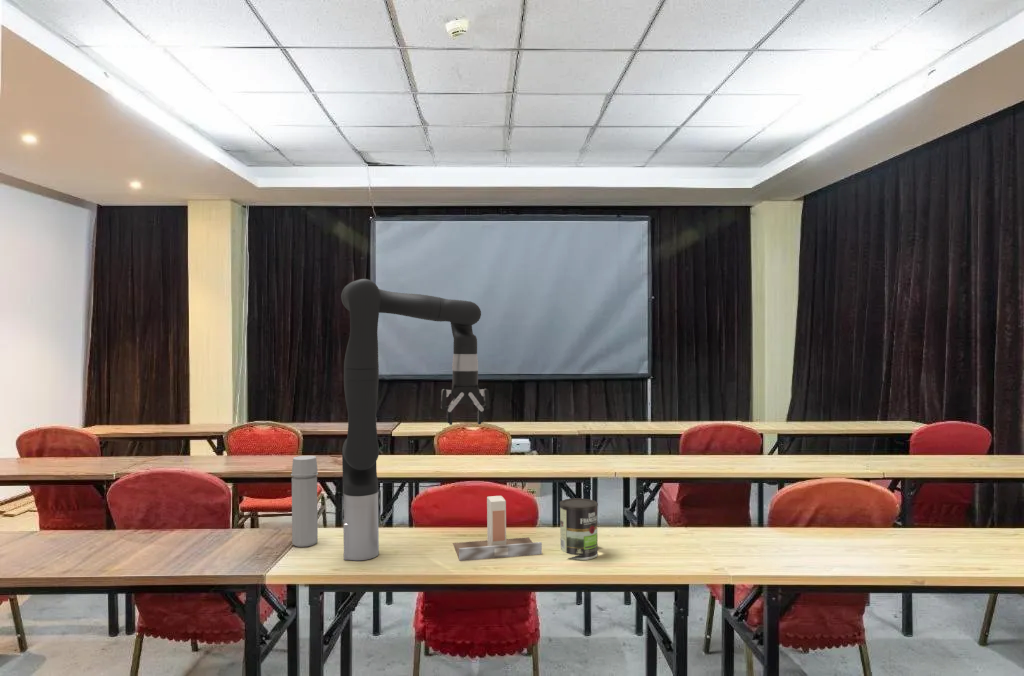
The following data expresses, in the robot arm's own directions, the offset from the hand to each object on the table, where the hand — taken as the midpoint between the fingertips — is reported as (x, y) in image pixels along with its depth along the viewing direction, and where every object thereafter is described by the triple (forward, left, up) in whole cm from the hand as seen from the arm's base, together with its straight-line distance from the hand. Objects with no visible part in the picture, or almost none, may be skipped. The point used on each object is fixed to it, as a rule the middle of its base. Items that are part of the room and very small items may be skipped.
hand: (465, 424), depth 193 cm
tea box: (+6, -17, -32) cm, 37 cm away
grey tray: (+6, -16, -34) cm, 38 cm away
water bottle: (-46, +7, -34) cm, 57 cm away
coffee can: (+28, -21, -34) cm, 49 cm away
